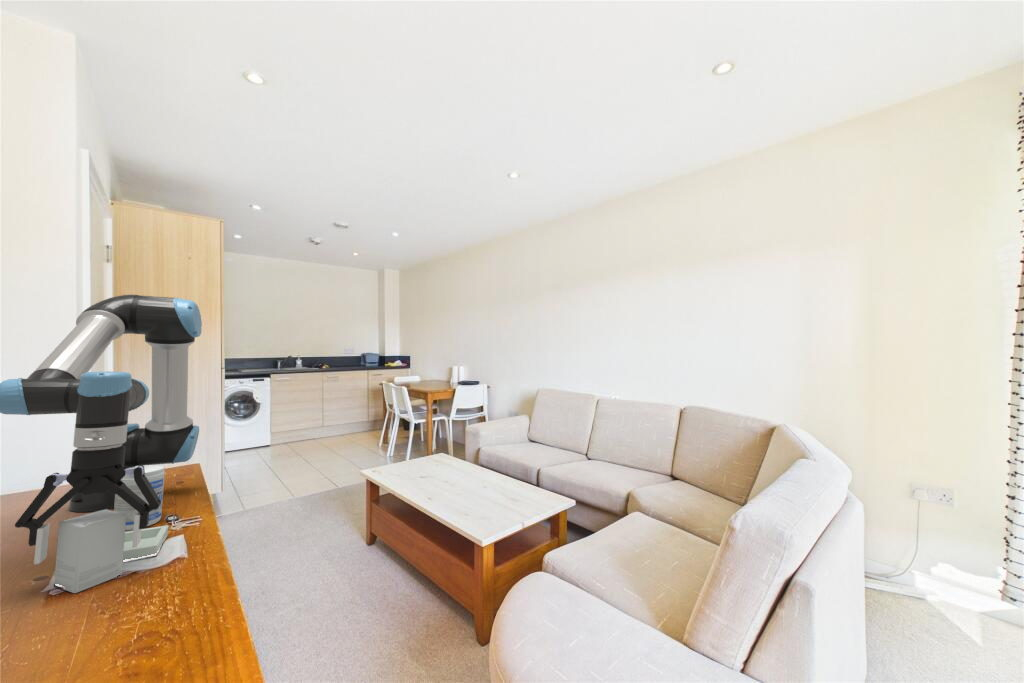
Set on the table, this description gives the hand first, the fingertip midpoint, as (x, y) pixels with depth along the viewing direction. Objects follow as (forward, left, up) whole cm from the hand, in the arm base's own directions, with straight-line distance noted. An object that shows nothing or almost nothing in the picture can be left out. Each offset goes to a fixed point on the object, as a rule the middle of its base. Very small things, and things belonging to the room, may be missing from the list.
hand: (90, 552), depth 78 cm
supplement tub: (-30, +1, -6) cm, 31 cm away
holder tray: (-12, +3, -6) cm, 14 cm away
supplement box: (0, 0, -6) cm, 6 cm away
